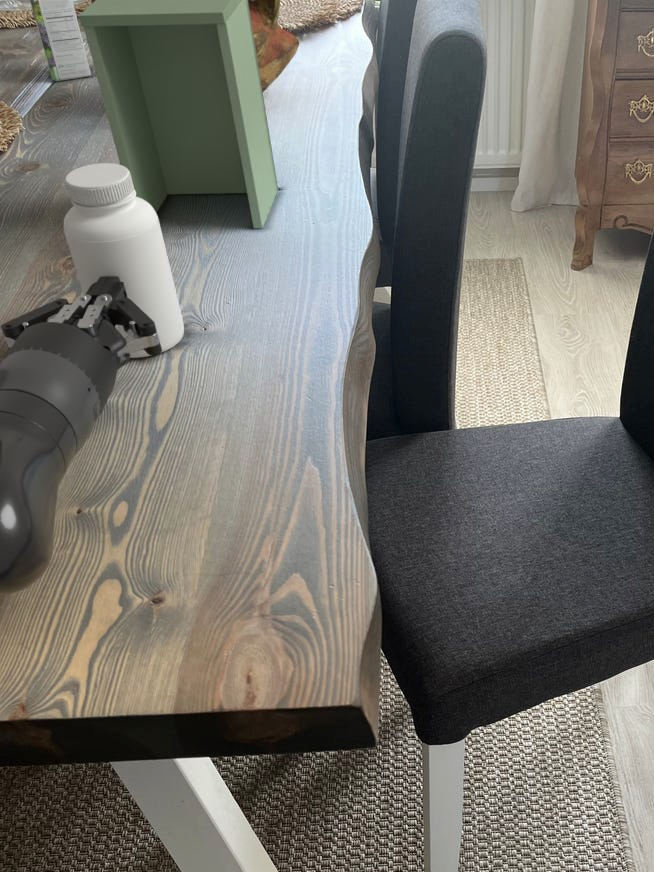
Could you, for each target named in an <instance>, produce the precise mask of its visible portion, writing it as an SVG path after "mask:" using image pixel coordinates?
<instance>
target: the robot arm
mask: <svg viewBox="0 0 654 872" xmlns="http://www.w3.org/2000/svg"><path fill="white" fill-rule="evenodd" d="M53 316H54V317H53ZM50 317H53V318H50ZM119 325H121V326H123V328H124V331H125V332H126V333H127V334H128V335H127V337H125V338H124V337H123V336H122V335H121V334H120V332H119V331H118V330H117V329H118V327H119ZM0 328H1V330H2V333H3V337H4V339H5V341H6V345H7V347H8V348H9V350H8V351H7V353H6V354H5V355H4V357H3V358H2V360H1V362H0V596H4V595H6V596H7V595H12V594H17V593H19V592H22V591H25V590H26V589H28V588H30V587H31V586H32V585H33V584H35V583H36V582H38V580H39V579H41V578H42V576H43V575H44V574H45V573H46V572H47V570H48V568H49V567H50V564H51V562H52V558H53V553H54V541H55V518H56V511H57V502H58V492H59V488H60V487H59V486H60V484H61V483H62V481H63V479H64V477H65V475H66V474H67V471H68V469H69V468H70V465H71V464H72V462H73V460H74V458H75V456H76V455H77V454H78V453H79V452H80V450H82V448H83V446H84V445H85V444H86V442H88V441H87V440H88V439H89V437H90V436H91V433H92V431H93V430H94V427H95V426H96V424H97V422H98V420H99V419H100V418H99V417H100V416H101V414H102V412H103V410H104V408H105V407H106V404H107V403H108V401H109V398H110V397H111V395H112V393H113V390H114V388H115V384H116V379H117V374H118V371H119V370H120V369H121V368H122V367H124V366H125V365H126V364H127V363H128V362H129V361H130V359H131V358H130V353H133V352H136V351H141V350H144V351H145V352H146V353H147V354H149V355H151V356H156V355H159V354H161V353H163V352H162V348H161V344H160V341H159V337H158V334H157V330H156V326H155V323H154V321H153V320H152V319H151V318H150V317H149V316H147V315H146V314H145V313H144V312H143V311H142V310H141V309H140V308H139V307H138V306H137V305H136V304H135V303H134V302H133V301H132V300H131V299H129V298H128V296H127V293H126V290H125V286H124V283H123V282H120V279H119V277H118V276H100V278H99V279H98V281H97V282H95V283H93V284H92V285H91V286H90V288H89V289H88V291H87V292H86V294H85V295H84V294H80V295H78V296H77V297H76V298H75V300H74V301H73V302H69V300H68V298H64V297H63V298H57V299H54V300H52V301H50V302H48V303H45V304H44V305H41V306H39V307H37V308H35V309H33V310H30V311H28V312H26V313H24V314H22V315H19V316H17V317H14V318H13V319H11V320H8V321H6V322H3V323H2V324H1V326H0Z"/></svg>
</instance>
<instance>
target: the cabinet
mask: <svg viewBox="0 0 654 872" xmlns="http://www.w3.org/2000/svg"><path fill="white" fill-rule="evenodd" d="M78 17H79V21H80V26H81V27H82V28H83V30H84V34H85V37H86V41H87V46H88V48H89V52H90V56H91V60H92V63H93V68H94V72H95V76H96V79H97V83H98V86H99V89H100V94H101V97H102V101H103V104H104V109H105V114H106V116H107V120H108V124H109V127H110V131H111V136H112V139H113V142H114V146H115V149H116V153H117V154H116V155H117V158H118V162H119V165H122V166H124V167H126V168H127V169H128V170H129V171H130V174H131V178H132V182H133V186H134V189H135V191H136V197H139V198H141V199H143V200H145V201H146V202H148V203H149V204H150V205H151V206H152V207H153V209H154V210H155V212H156V214H157V213H158V211H159V210H160V208H161V206H162V204H164V201H165V200H166V198H167V196H168V195H211V194H214V195H215V194H218V195H219V194H220V195H221V194H247V200H248V205H249V211H250V215H251V221H252V227H253V229H263V228H264V226H265V223H266V221H267V219H268V216H269V213H270V211H271V208H272V206H273V204H274V201H275V198H276V196H277V195H278V191H279V184H278V179H277V178H278V177H277V172H276V166H275V159H274V154H273V147H272V143H271V142H272V141H271V135H270V130H269V123H268V117H267V109H266V104H265V98H264V97H265V96H264V92H263V91H262V85H261V79H260V73H259V66H258V60H257V54H256V48H255V42H254V35H253V29H252V23H251V17H250V11H249V5H248V0H95V1H94V2H93V3H92V2H91V4H90V5H89V6H87V8H85V9H84V10H83V11H82V12H81V13H80V14H79V15H78Z"/></svg>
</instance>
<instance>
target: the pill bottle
mask: <svg viewBox="0 0 654 872" xmlns="http://www.w3.org/2000/svg"><path fill="white" fill-rule="evenodd" d="M64 184H65V188H66V190H67V194H68V197H69V199H70V201H71V204H72V207H71V208H70V209H69V210H68V211H67V212H66V214H65V216H64V219H63V233H64V236H65V239H66V242H67V246H68V250H69V252H70V256H71V258H72V259H71V260H72V261H73V266H74V268H75V272H76V275H77V278H78V281H79V285H80V287H81V292H82V295H85V294H86V292H87V291H88V289H89V288H90V286H91V285H92V284H93V283H95V282H97V281H98V279H99V278H100V276H118V277H119V279H120V282H123V283H124V286H125V290H126V293H127V296H128V298H129V299H131V300H132V301H133V302H134V303H135V304H136V305H137V306H138V307H139V308H140V309H141V310H142V311H143V312H144V313H145V314H146V315H147V316H149V317H150V318H151V319H152V320H153V321H154V323H155V326H156V330H157V334H158V337H159V341H160V344H161V348H162V352H161V353H164V352H167V351H168V350H170V349H172V348H174V347H175V346H176V345H177V344H178V343H181V341H182V339H183V337H184V334H185V323H184V319H183V318H184V317H183V314H182V310H181V306H180V302H179V297H178V294H177V290H176V285H175V281H174V277H173V273H172V269H171V264H170V260H169V256H168V252H167V249H166V244H165V240H164V235H163V231H162V228H161V224H160V219H159V216H158V214H157V213H156V212H155V210H154V209H153V207H152V206H151V205H150V204H149V203H148V202H146V201H145V200H143V199H141V198H139V197H136V191H135V189H134V186H133V182H132V178H131V174H130V171H129V170H128V169H127V168H126V167H124V166H122V165H120V163H119V164H118V163H110V162H102V163H93V164H88V165H87V164H86V165H84V166H80V167H78V168H75V169H73V170H72V171H70V172H69V173H68V174H67V175H66V176H65V179H64ZM117 330H118V331H119V332H120V334H121V335H122V336H123V337H124V338H125V337H127V335H128V334H127V333H126V332H125V331H124V328H123V326H121V325H119V327H118V329H117ZM150 356H152V355H149V354H147V353H146V352H145V351H144V350H141V351H136V352H133V353H130V359H133V358H137V359H138V358H145V357H150Z"/></svg>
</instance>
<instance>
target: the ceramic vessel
mask: <svg viewBox="0 0 654 872" xmlns="http://www.w3.org/2000/svg"><path fill="white" fill-rule="evenodd" d="M90 1H91V4H92V3H93V2H94V1H95V0H90ZM248 5H249V11H250V17H251V23H252V29H253V35H254V42H255V48H256V54H257V60H258V66H259V73H260V79H261V85H262V91H263V93H264V92H265V91H266V90H267V89H268V88H269V87H270V86H271V85H272V84H273V83H274V82H275V81H276V80H277V79H278V78H279V77H280V75H282V73H283V72H284V70H285V69H286V68H287V66H288V65H289V64H290V62H291V61H292V60H293V58H294V57H295V56H296V53H297V52H298V49H299V47H300V41H299V39H298V37H297V36H295V35H294V34H292V33H290V32H289V30H288V31H287V30H286V29H284V28H282V27H280V25H279V24H278V21H279V17H280V7H281V0H248Z"/></svg>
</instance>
